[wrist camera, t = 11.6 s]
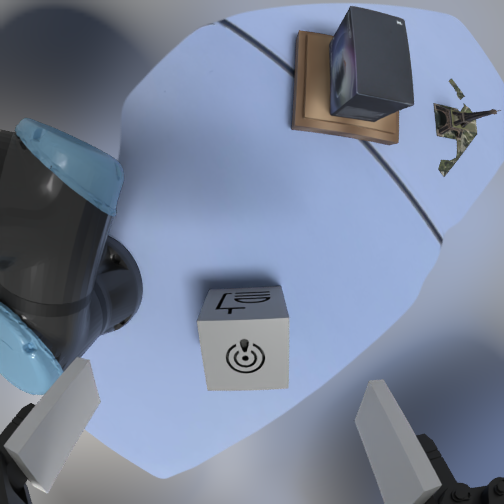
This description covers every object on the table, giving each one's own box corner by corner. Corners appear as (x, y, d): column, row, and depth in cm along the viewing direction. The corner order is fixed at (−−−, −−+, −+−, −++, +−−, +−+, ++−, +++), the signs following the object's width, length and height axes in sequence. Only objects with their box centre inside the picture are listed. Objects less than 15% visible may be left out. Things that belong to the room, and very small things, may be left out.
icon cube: (209, 289, 41) (196, 320, 31) (281, 286, 41) (289, 317, 31) (216, 349, 44) (207, 390, 34) (281, 347, 43) (288, 388, 34)
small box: (325, 42, 29) (347, 2, 19) (372, 51, 29) (406, 17, 19) (326, 116, 32) (355, 93, 22) (376, 123, 32) (417, 106, 22)
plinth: (291, 129, 36) (295, 123, 32) (296, 39, 33) (300, 27, 29) (388, 145, 36) (401, 142, 32) (388, 58, 33) (399, 49, 29)
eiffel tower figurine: (441, 179, 38) (499, 183, 25) (402, 128, 36) (455, 112, 23) (482, 124, 35) (534, 117, 22) (448, 77, 33) (497, 56, 20)
